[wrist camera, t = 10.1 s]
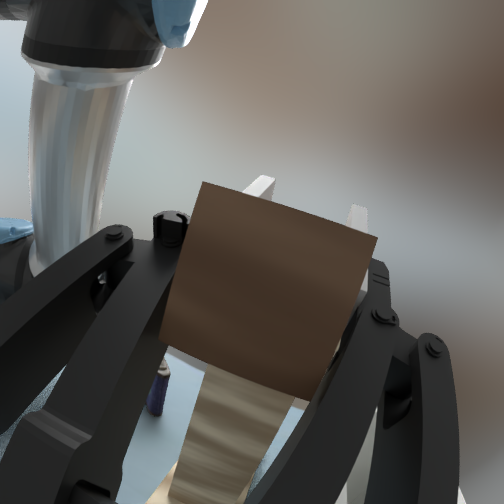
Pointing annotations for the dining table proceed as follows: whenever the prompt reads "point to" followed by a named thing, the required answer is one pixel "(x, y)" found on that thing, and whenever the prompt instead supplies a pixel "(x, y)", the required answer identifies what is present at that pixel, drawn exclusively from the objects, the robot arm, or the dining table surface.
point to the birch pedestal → (224, 441)
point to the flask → (158, 390)
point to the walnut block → (264, 289)
